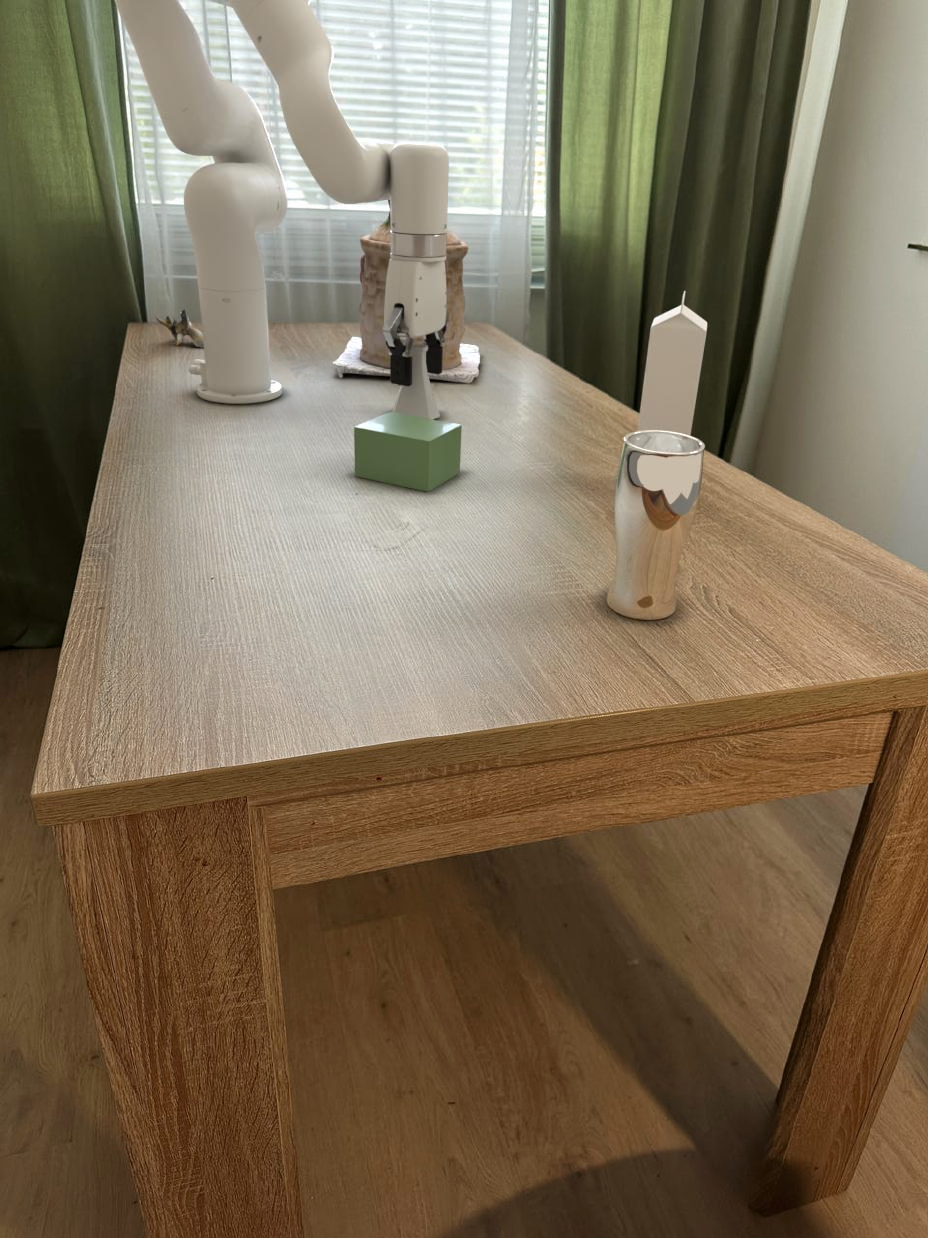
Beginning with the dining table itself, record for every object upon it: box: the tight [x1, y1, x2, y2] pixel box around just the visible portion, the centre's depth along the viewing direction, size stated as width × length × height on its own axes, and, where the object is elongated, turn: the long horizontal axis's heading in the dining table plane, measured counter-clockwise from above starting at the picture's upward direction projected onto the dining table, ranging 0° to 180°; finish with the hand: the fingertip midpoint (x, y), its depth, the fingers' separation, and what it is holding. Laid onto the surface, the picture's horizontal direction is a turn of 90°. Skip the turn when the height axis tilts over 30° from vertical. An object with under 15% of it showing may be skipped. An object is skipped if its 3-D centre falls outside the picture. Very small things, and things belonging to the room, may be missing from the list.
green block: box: [353, 411, 463, 493], centre depth 109 cm, size 10×8×6 cm
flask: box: [391, 344, 441, 420], centre depth 131 cm, size 7×7×10 cm
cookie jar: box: [332, 200, 482, 384], centre depth 155 cm, size 25×25×32 cm
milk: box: [637, 290, 708, 436], centre depth 106 cm, size 6×6×22 cm
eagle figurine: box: [155, 308, 204, 349], centre depth 170 cm, size 8×7×9 cm
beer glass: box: [606, 430, 706, 621], centre depth 79 cm, size 7×7×15 cm
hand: (416, 377), depth 131 cm, fingers open, 8 cm apart
